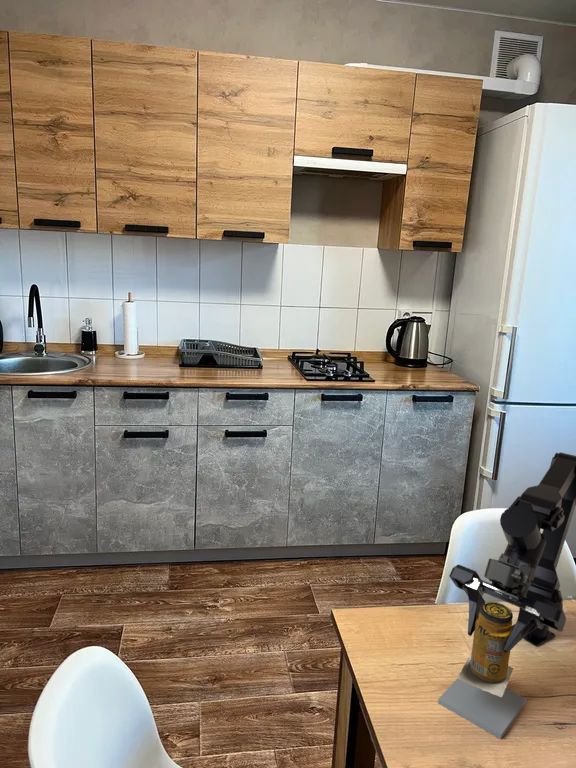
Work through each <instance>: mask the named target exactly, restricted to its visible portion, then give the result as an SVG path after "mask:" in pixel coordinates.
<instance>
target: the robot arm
mask: <svg viewBox="0 0 576 768" xmlns="http://www.w3.org/2000/svg"><path fill="white" fill-rule="evenodd" d="M551 458H552V459H551V462H550V465H549V468H548V470H547V471H546V472H545V474H544V476H543V477H542V478H541V481H540V482H539V484H537V485H533V486H529V487H527V488H526V489H525V490H523V492H522V493H521V495H519V496H517V497H516V498H515V499H514V501H513V503H512V504H511V505H510V506H509V507H508V508H506V509H505V510H504V511H503V512H502V513H501V515H500V517H499V518H500V520H499V521H500V526H501V529H502V532H503V534H504V536H505V539H506V542H507V544H506V547H505V549H504V552H503V553H501V555H499V556H498V557H499V558H498V559H494V558H488V560H487V561H488V562H487V565H486V569H485V571H484V575H483V578H485V579H488V580H489V581H488V582H487V581H486V580H483V579H482V578H481V577H480V575H479V574H478V572H477V571H476V570H473V569H471V568H469V567H466V566H464V565H461V564H457V565H455V566H454V567H452V569H451V571H450V573H449V575H448V576H449V579H451V581H452V583H453V584H454V585H455V587H456V588H458V589H459V590H462V591H464V593H465V594H466V595H467V597H468V619H467V620H468V621H467V622H468V623H467V635H468V636H470V637H472V635H474V630H475V622H476V620H477V618H478V617H479V612H480V607H481V605H482V604H483V603H485V602H486V600H485V599H484V598H483V595H485V594H486V595H489V596H492V597H493V598H496V599H498V600H501V601H503V602H505V603H508V604H510V605H512V606H514V607H517V608H519V610H518V614H517V620H516V622H515V623H514V624H512V628H513V630H512V632H511V634H510V636H509V638H508V640H507V642H506V645H505V648H504V652H505V653H508V652H509V651H510V652H511V650H513V648H515V646H516V645H518V644H519V643H520V641H521V640H522V639H524V640H525V641H526V642H529V643H530V644H532V645H533V646H535V647H538V646H540V645H543V644H544V643H546V642H548V641H550V640H553V639H554V638H555V637H556V634H555V633H553V632H552V631H550V630H549V629H553V630H555V631H557V632H563V630H564V628H565V624H566V622H567V617H566V613H565V612H564V610H563V609H564V605H563V600H564V599H563V594H562V591H561V590H560V588H561V583H560V580H559V575H558V573H557V567H558V564H559V560H560V558H561V554H562V551H563V548H564V544H565V541H566V538H567V534H568V532H569V528H570V525H571V522H572V518H573V515H574V512H575V509H576V455H573V454H568V453H565V452H562V451H561V452H555V454H554V456H553V457H551ZM541 530H542V532H541ZM490 582H491V583H490Z"/></svg>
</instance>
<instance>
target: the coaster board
mask: <svg viewBox="0 0 576 768" xmlns="http://www.w3.org/2000/svg"><path fill="white" fill-rule="evenodd" d="M437 703H438V705H441V706H442V707H444V708H445V709H447V710H449V711H451V712H452V713H454V714H456V715H458V716H460V717H462V718H463V719H464V720H467V721H469V722H470V723H472V724H474V725H475V726H477V727H479V728H480V729H483V730H484V731H486V732H487V733H489V734H491V735H492V736H495V737H496V738H498V739H500V740H501V739H502V738H503V737H504V735H505V734H506V733H507V731H508V729H509V728H510V727H511V725H512V724H513V722H514V721H515V719H516V718H517V716H518V715H519V714H520V712H521V711H522V709H523V708H524V706H525V705H526V703H527V698H526V697H524V696H523V695H520V694H518V693H516V692H514V691H512V690H510V689H508V688H507V687H506V688H505V691H504V693H503V696H502V697H499V696H497V695H494V694H492V693H490V692H487V691H483V690H482V689H480V688H477V687H475V686H473V685H471V684H468V683H466V682H464V681H462V680H460V679H458V677H457V678H456V679H455V680H454V681H453V682H452V683H451V685H450V686H449V687H448V688H447V689H446V690H445V691H444V692H443V693H442V694H441V696H440V697H439V698H438V699H437Z"/></svg>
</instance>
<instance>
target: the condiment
mask: <svg viewBox="0 0 576 768" xmlns="http://www.w3.org/2000/svg"><path fill="white" fill-rule="evenodd" d="M513 615H514V614H513V612H512V609H510V608H509V607H508V606H506V605H505V604H503V603H501V602H496V601H487V602H486V601H485V603H483V604H482V605H481V607H480V612H479V617H478V618H477V620H476V622H475V630H474V632H473V639H472V648H471V652H470V654H469V656H468V658H467V660H466V661H465V663H464V665H463V667H462V669H461V671H460V672H459V674H458V676H457V678H458V679H460V680H462V681H464V682H466V683H468V684H471V685H473V686H475V687H477V688H480V689H482V690H483V691H487V692H490V693H492V694H494V695H497V696H499V697H502V696H503V693H504V691H505V688H507V686H508V683H509V681H510V679H511V676H512V674H513V672H514V667H512V666H509V661H510V656H511V650H510V651H509V652H508V653H505V652H504V648H505V645H506V642H507V640H508V638H509V636H510V634H511V632H512V630H513V628H512V625H513V618H514V616H513Z"/></svg>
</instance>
